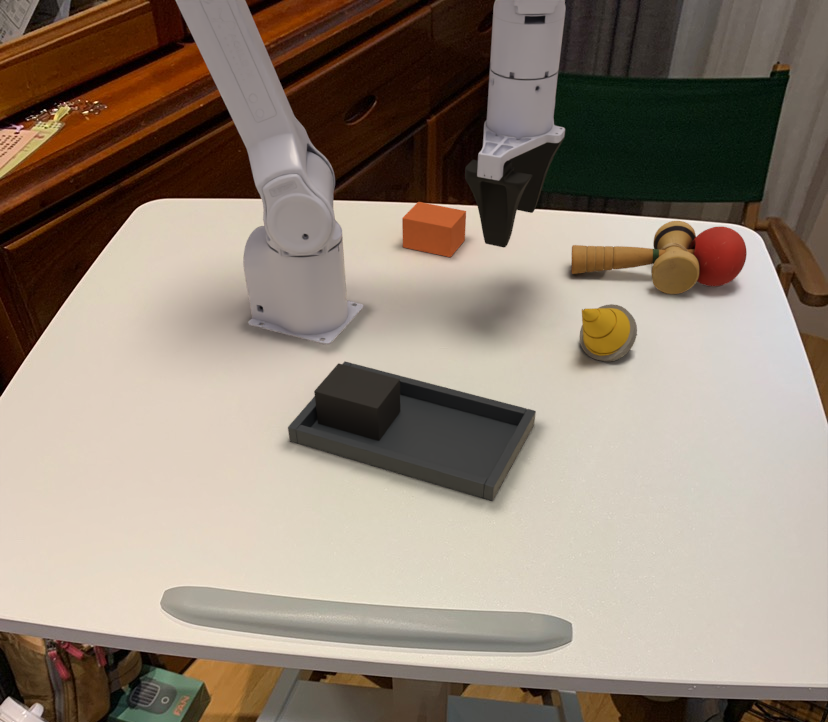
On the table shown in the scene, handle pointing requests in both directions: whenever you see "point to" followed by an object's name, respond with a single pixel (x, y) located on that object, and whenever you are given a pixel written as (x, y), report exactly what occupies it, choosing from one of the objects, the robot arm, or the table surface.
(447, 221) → the orange block
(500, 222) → the robot arm
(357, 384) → the black block
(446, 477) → the tray
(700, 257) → the kendama
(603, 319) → the spiral yellow cone
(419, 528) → the table surface
